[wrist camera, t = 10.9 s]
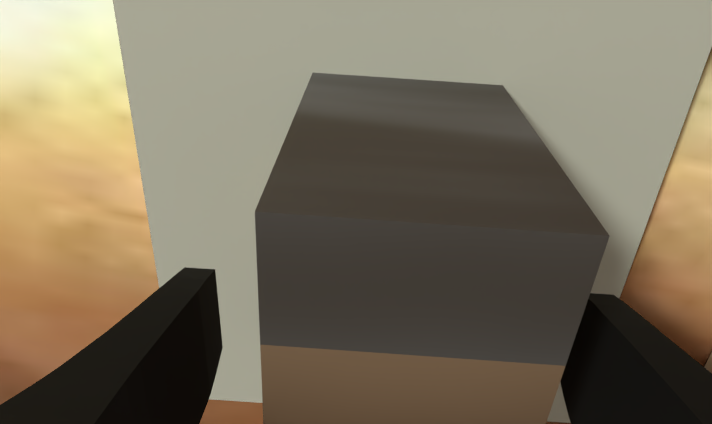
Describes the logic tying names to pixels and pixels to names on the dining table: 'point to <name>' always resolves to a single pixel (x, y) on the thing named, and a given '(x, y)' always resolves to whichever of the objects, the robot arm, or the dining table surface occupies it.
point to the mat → (392, 60)
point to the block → (418, 258)
